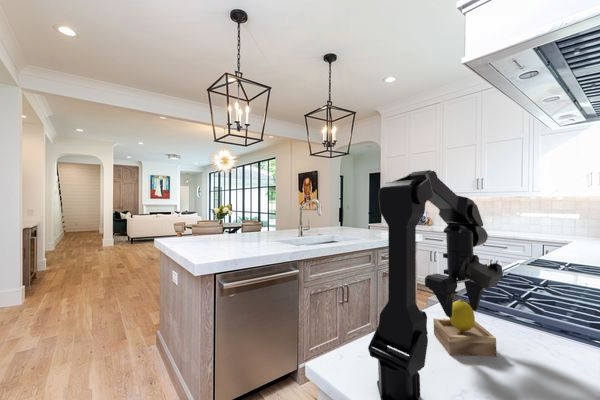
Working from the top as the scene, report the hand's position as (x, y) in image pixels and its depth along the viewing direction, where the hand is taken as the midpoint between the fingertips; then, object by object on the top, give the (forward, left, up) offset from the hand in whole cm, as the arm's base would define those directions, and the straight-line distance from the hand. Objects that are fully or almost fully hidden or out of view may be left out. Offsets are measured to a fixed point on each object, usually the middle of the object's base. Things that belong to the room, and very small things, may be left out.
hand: (461, 313), depth 69 cm
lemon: (0, 0, -5) cm, 5 cm away
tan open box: (0, 0, -8) cm, 8 cm away
